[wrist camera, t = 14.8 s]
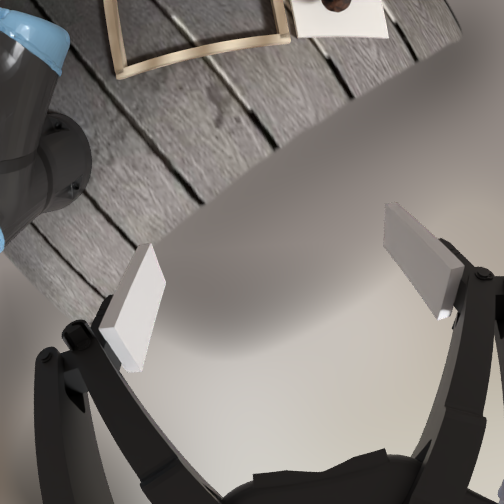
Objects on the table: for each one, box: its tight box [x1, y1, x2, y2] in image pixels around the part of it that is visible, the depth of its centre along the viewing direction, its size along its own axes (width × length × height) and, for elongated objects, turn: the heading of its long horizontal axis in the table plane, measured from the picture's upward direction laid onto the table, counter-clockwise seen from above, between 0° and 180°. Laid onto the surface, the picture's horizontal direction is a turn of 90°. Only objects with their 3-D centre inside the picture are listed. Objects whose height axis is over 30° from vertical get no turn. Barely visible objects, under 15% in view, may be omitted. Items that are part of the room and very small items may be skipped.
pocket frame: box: [103, 0, 291, 79], centre depth 27 cm, size 22×16×2 cm
